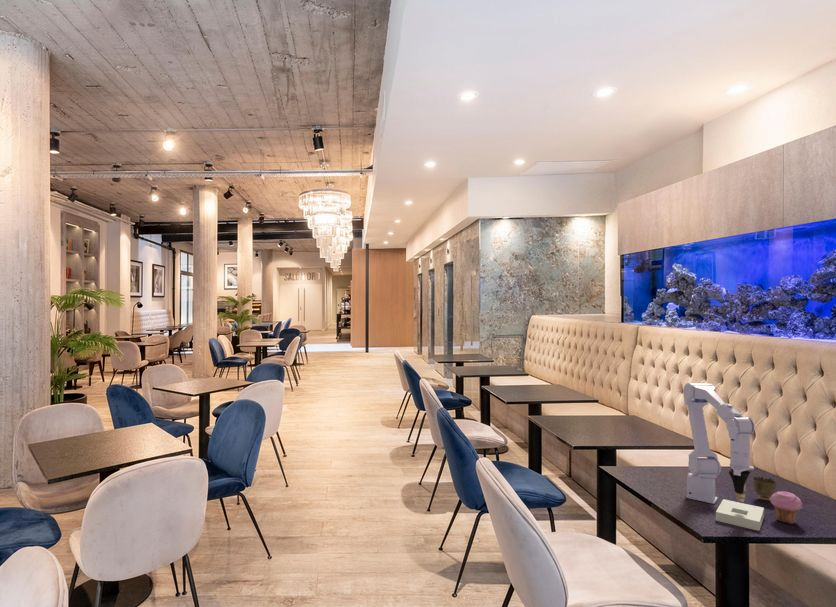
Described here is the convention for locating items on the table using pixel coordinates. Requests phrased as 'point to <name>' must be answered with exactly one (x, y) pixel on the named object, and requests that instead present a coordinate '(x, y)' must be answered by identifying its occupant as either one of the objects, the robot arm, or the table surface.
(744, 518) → the board
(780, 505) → the cupcake
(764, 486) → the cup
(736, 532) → the table surface
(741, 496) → the peg
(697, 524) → the table surface
